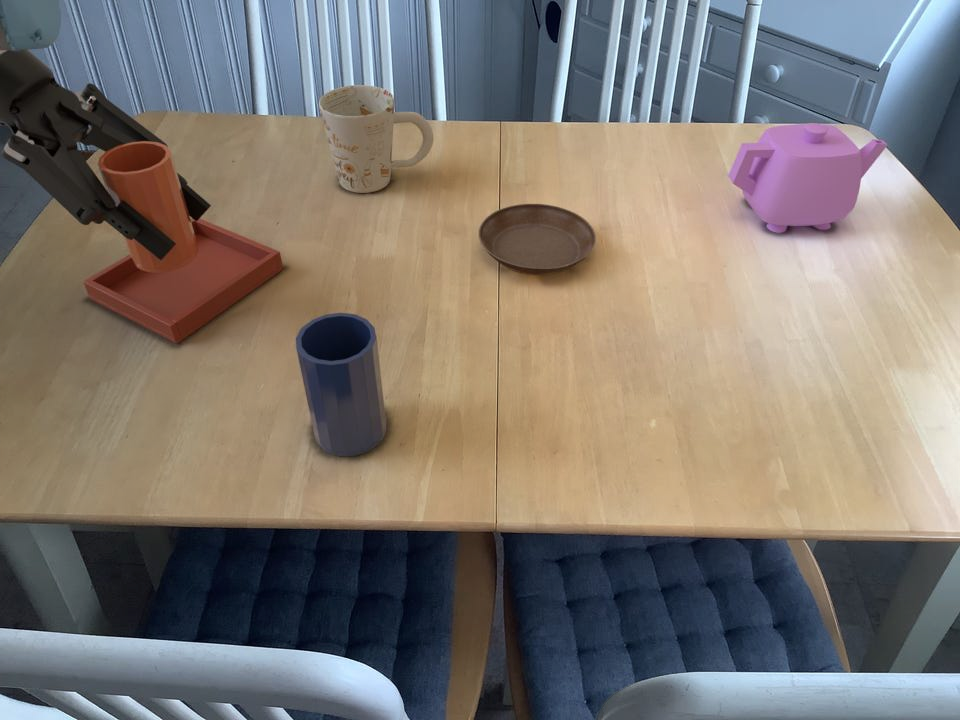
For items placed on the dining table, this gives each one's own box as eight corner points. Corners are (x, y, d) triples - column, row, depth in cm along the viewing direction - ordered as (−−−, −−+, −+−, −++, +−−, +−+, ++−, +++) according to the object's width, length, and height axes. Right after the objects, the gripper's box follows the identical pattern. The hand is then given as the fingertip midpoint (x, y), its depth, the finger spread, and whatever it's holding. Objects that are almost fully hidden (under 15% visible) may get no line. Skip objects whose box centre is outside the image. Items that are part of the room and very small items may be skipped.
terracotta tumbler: (162, 280, 84) (129, 180, 76) (119, 259, 87) (83, 161, 78) (211, 249, 88) (184, 152, 80) (169, 230, 91) (139, 135, 83)
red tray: (176, 344, 86) (170, 326, 84) (90, 299, 92) (82, 281, 90) (283, 269, 97) (280, 251, 95) (199, 233, 103) (194, 216, 101)
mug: (328, 167, 116) (317, 87, 108) (429, 158, 118) (426, 79, 110) (331, 201, 109) (320, 119, 101) (439, 191, 111) (437, 110, 103)
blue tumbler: (355, 467, 73) (340, 375, 65) (300, 437, 76) (279, 345, 68) (400, 422, 78) (391, 329, 69) (346, 395, 80) (331, 303, 72)
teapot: (737, 243, 101) (761, 154, 93) (706, 194, 110) (725, 109, 102) (882, 233, 103) (919, 145, 95) (839, 186, 112) (869, 101, 104)
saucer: (608, 235, 103) (611, 218, 101) (570, 298, 93) (572, 279, 91) (506, 210, 107) (506, 193, 105) (459, 267, 97) (458, 249, 95)
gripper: (43, 57, 86) (212, 203, 94) (-93, 139, 71) (121, 303, 79) (69, 11, 81) (244, 168, 89) (-71, 88, 67) (154, 268, 75)
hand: (186, 232), depth 84 cm, fingers closed on terracotta tumbler, 7 cm apart
